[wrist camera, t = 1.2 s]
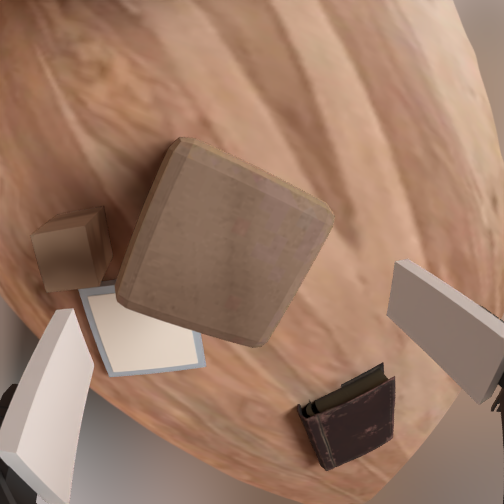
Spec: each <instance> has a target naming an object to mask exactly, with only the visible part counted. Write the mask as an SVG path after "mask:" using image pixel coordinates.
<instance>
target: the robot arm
mask: <svg viewBox="0 0 504 504" xmlns="http://www.w3.org/2000/svg"><path fill="white" fill-rule="evenodd" d="M387 316H388V317H389V318H390V319H391V320H392V321H393V322H394V323H395V324H396V325H398V326H399V327H400V328H401V329H402V330H403V331H404V332H405V333H406V334H407V335H408V336H409V337H410V338H411V339H412V340H413V341H414V342H415V343H417V344H418V345H419V346H420V347H421V348H422V349H423V350H424V351H425V352H426V353H427V354H428V355H429V356H430V357H431V358H432V359H433V360H434V361H435V362H436V363H437V364H438V365H439V366H440V367H441V368H442V369H443V370H444V371H445V372H446V373H447V374H448V375H449V376H450V377H451V378H452V379H453V380H454V381H455V382H456V383H457V384H458V385H459V386H460V387H461V388H462V389H464V391H465V392H466V393H467V394H468V395H469V396H470V397H471V398H472V399H473V400H474V401H475V402H476V403H477V404H478V405H480V404H482V403H483V402H484V401H486V400H487V399H489V398H490V397H491V396H492V394H493V393H494V391H495V389H496V387H497V385H500V386H501V387H502V389H501V391H500V393H499V395H498V396H497V398H496V400H495V402H494V403H493V405H492V407H491V411H494V409H495V407H496V406H497V404H499V403H500V406H499V407H498V409H497V412H501V418H502V430H503V446H504V322H503V321H502V320H501V319H500V320H499V318H498V317H497V316H495V315H494V314H491V312H490V311H488V310H487V309H485V308H484V307H483V306H480V305H478V304H476V303H475V302H473V301H472V300H470V299H469V298H468V297H466V296H465V295H463V294H462V293H460V292H459V291H457V290H456V289H454V288H453V287H451V286H450V285H448V284H447V283H445V282H444V281H442V280H440V279H439V278H437V277H436V276H434V275H433V274H431V273H430V272H428V271H426V270H425V269H423V268H422V267H420V266H419V265H417V264H415V263H414V262H412V261H411V260H409V259H405V260H399V261H395V265H394V272H393V279H392V286H391V292H390V299H389V305H388V310H387ZM93 369H94V363H93V360H92V358H91V355H90V353H89V350H88V348H87V345H86V343H85V340H84V337H83V335H82V332H81V329H80V326H79V324H78V321H77V318H76V315H75V312H74V309H73V308H71V309H61V310H56V311H55V313H54V315H53V317H52V318H51V320H50V322H49V324H48V326H47V328H46V329H45V331H44V333H43V335H42V337H41V339H40V341H39V343H38V345H37V347H36V349H35V351H34V353H33V355H32V357H31V359H30V361H29V363H28V365H27V367H26V369H25V371H24V373H23V376H22V378H21V380H20V382H19V384H12V385H11V386H10V387H9V388H8V389H7V390H6V392H5V393H4V394H3V395H2V398H1V400H0V504H37V503H36V498H37V494H38V495H39V496H40V497H41V498H42V499H43V500H44V501H45V502H47V503H50V504H69V503H70V493H71V484H72V476H73V469H74V462H75V456H76V449H77V444H78V438H79V432H80V427H81V422H82V417H83V412H84V407H85V402H86V398H87V393H88V389H89V385H90V381H91V377H92V373H93ZM503 499H504V497H503ZM503 504H504V500H503Z"/></svg>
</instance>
